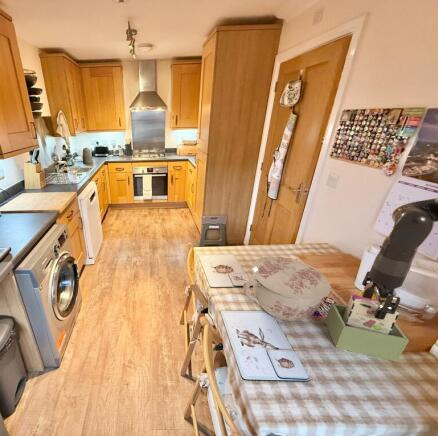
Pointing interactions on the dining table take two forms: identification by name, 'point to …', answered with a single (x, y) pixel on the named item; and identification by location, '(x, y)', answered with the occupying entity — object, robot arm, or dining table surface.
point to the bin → (364, 337)
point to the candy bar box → (367, 315)
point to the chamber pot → (287, 287)
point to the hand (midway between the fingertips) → (371, 308)
